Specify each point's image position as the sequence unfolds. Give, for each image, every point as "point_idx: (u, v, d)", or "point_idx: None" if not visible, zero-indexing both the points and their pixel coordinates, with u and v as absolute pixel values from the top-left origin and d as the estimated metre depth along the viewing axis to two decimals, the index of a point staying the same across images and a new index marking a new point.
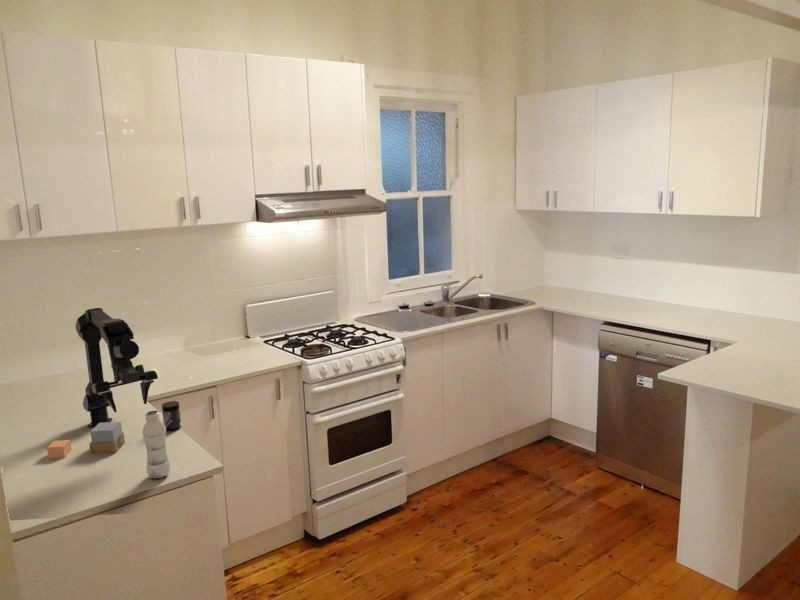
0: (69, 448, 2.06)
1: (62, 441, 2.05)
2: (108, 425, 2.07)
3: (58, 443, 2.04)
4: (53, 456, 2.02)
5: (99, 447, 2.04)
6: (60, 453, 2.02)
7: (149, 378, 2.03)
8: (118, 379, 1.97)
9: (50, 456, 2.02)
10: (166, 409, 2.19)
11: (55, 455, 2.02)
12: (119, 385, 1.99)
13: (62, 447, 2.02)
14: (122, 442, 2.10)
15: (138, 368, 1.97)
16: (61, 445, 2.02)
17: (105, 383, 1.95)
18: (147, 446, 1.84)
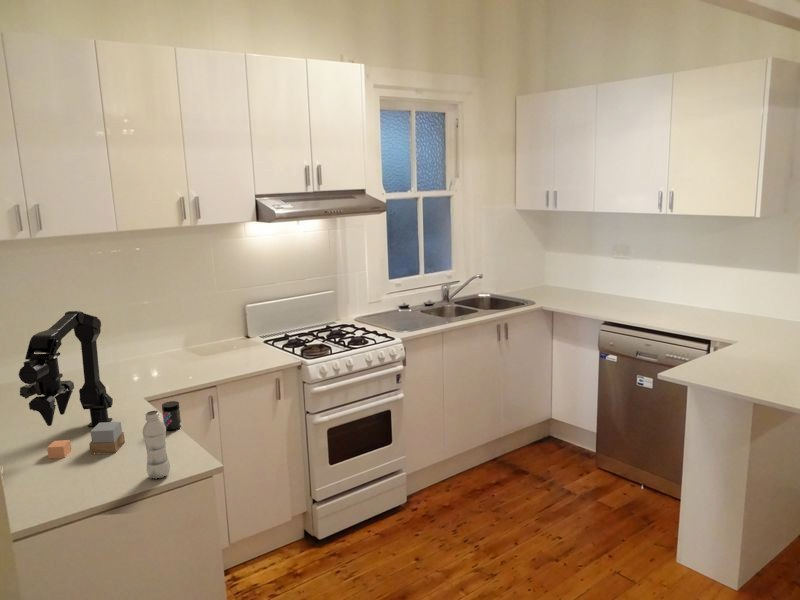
0: (69, 448, 2.06)
1: (62, 441, 2.05)
2: (108, 425, 2.07)
3: (58, 443, 2.04)
4: (53, 456, 2.02)
5: (99, 446, 2.04)
6: (60, 453, 2.02)
7: None
8: None
9: (50, 456, 2.02)
10: (166, 409, 2.19)
11: (55, 455, 2.02)
12: None
13: (62, 447, 2.02)
14: (122, 442, 2.10)
15: None
16: (61, 445, 2.02)
17: None
18: (147, 446, 1.84)
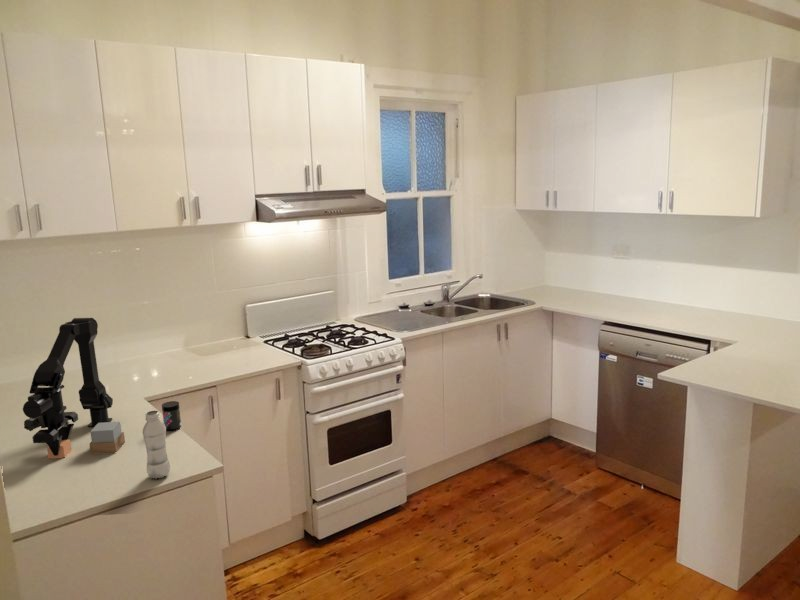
0: (69, 447, 2.06)
1: (62, 441, 2.05)
2: (108, 425, 2.07)
3: None
4: (53, 456, 2.02)
5: (99, 446, 2.04)
6: (60, 452, 2.02)
7: None
8: None
9: (50, 456, 2.02)
10: (166, 409, 2.19)
11: None
12: None
13: (62, 447, 2.02)
14: (122, 442, 2.10)
15: None
16: (61, 445, 2.02)
17: None
18: (147, 446, 1.84)
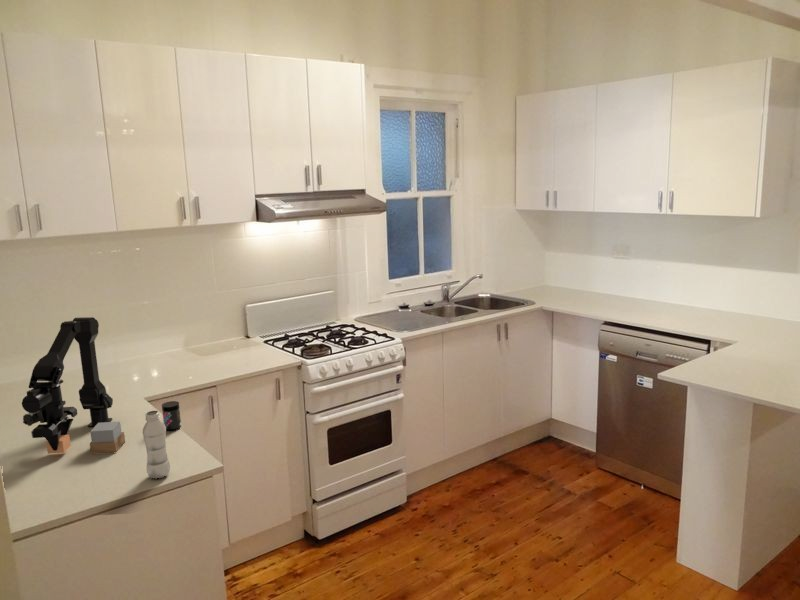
0: (68, 442, 2.05)
1: (61, 436, 2.05)
2: (108, 425, 2.07)
3: None
4: (52, 451, 2.02)
5: (99, 446, 2.04)
6: (59, 447, 2.02)
7: None
8: None
9: (49, 451, 2.01)
10: (166, 409, 2.19)
11: None
12: None
13: (61, 442, 2.01)
14: (122, 442, 2.10)
15: None
16: (60, 440, 2.02)
17: None
18: (147, 446, 1.84)
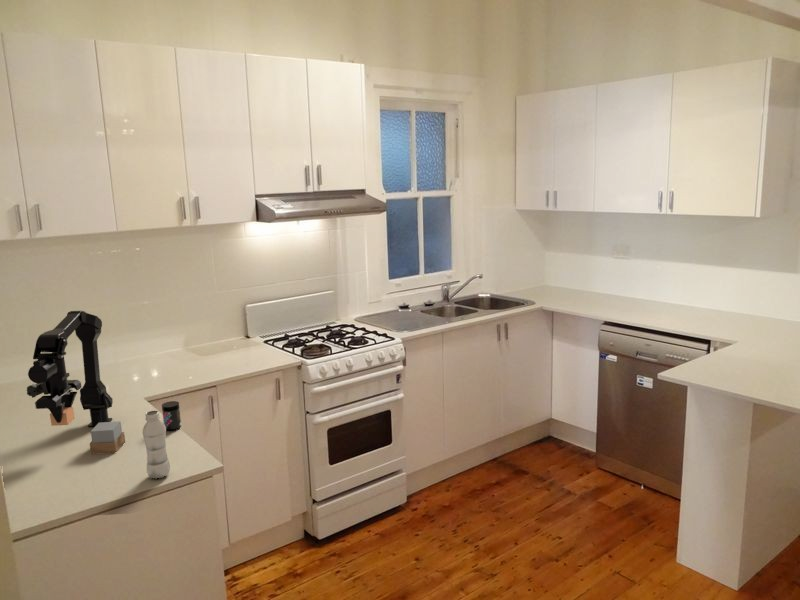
0: (72, 415, 2.04)
1: (65, 408, 2.04)
2: (108, 425, 2.07)
3: None
4: (56, 423, 2.00)
5: (99, 446, 2.04)
6: (63, 419, 2.00)
7: None
8: None
9: (53, 423, 2.00)
10: (166, 409, 2.19)
11: None
12: None
13: (65, 414, 2.00)
14: (122, 442, 2.10)
15: None
16: (64, 412, 2.01)
17: None
18: (147, 446, 1.84)
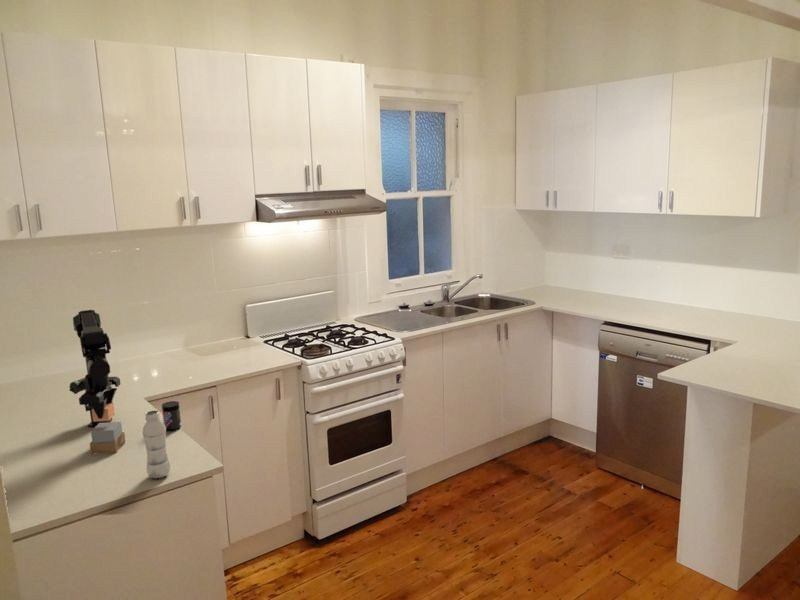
0: (112, 411, 2.07)
1: (106, 404, 2.07)
2: (109, 425, 2.07)
3: None
4: (97, 419, 2.04)
5: (100, 446, 2.04)
6: (104, 415, 2.04)
7: None
8: None
9: (94, 419, 2.03)
10: (166, 409, 2.19)
11: None
12: None
13: (106, 410, 2.03)
14: (123, 442, 2.10)
15: None
16: (105, 408, 2.04)
17: None
18: (147, 446, 1.84)
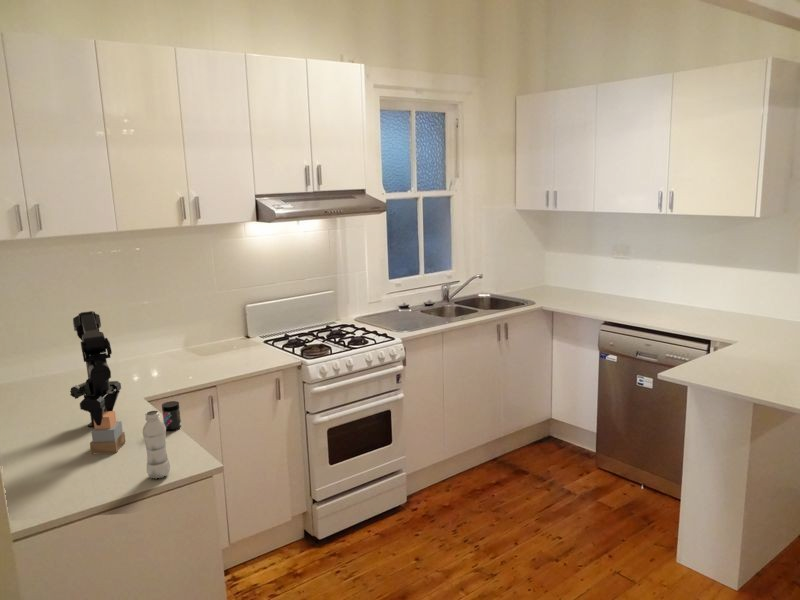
0: (114, 419, 2.08)
1: (107, 412, 2.08)
2: None
3: (104, 414, 2.06)
4: (99, 426, 2.04)
5: (100, 446, 2.04)
6: (106, 423, 2.04)
7: None
8: None
9: (96, 426, 2.04)
10: (166, 409, 2.19)
11: (101, 426, 2.04)
12: None
13: (108, 417, 2.04)
14: (123, 442, 2.10)
15: None
16: (107, 416, 2.05)
17: None
18: (147, 446, 1.84)
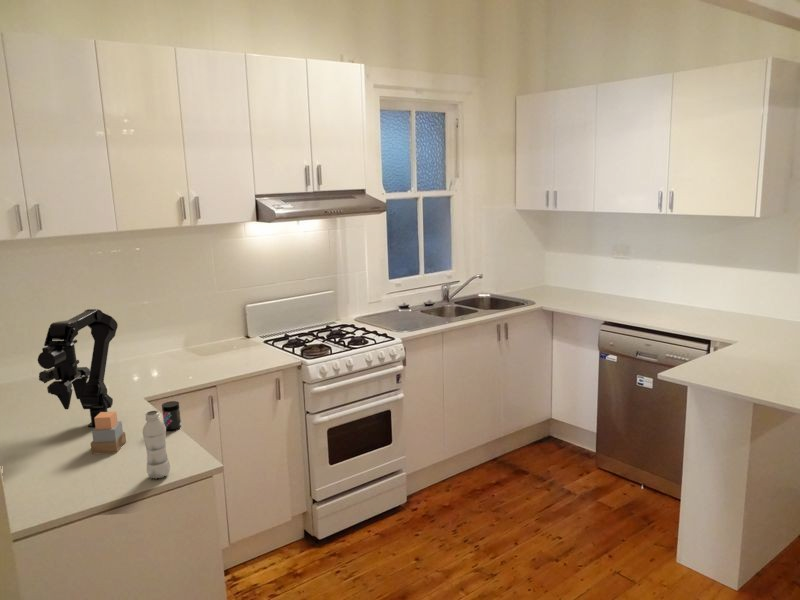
0: (115, 419, 2.08)
1: (108, 412, 2.08)
2: None
3: (105, 414, 2.06)
4: (100, 427, 2.04)
5: (100, 446, 2.04)
6: (107, 424, 2.04)
7: None
8: None
9: (97, 427, 2.04)
10: (166, 409, 2.19)
11: (102, 426, 2.04)
12: None
13: (109, 418, 2.04)
14: (123, 442, 2.11)
15: None
16: (108, 416, 2.05)
17: None
18: (147, 446, 1.84)
